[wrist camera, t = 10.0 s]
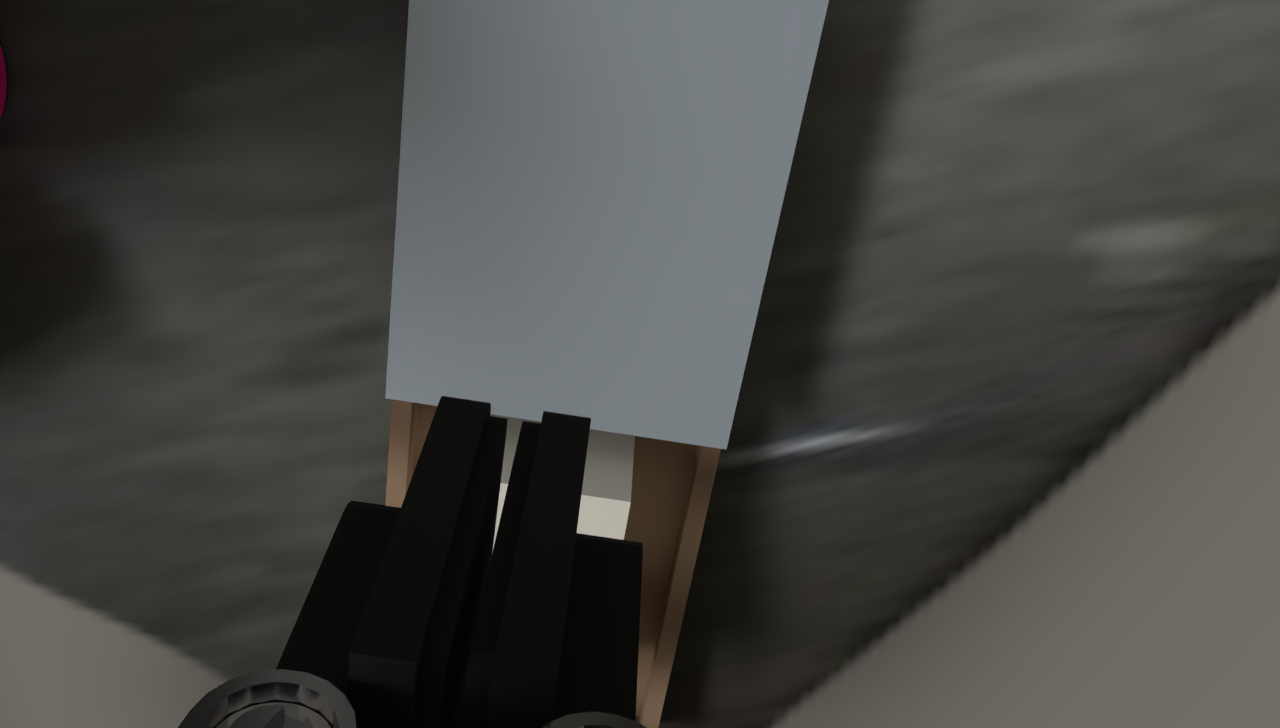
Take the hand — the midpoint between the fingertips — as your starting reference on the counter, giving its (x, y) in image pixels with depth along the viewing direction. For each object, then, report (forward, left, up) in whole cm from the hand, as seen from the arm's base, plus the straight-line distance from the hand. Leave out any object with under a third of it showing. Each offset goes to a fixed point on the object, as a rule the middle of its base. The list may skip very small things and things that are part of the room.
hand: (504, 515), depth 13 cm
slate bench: (-1, 0, -20) cm, 20 cm away
